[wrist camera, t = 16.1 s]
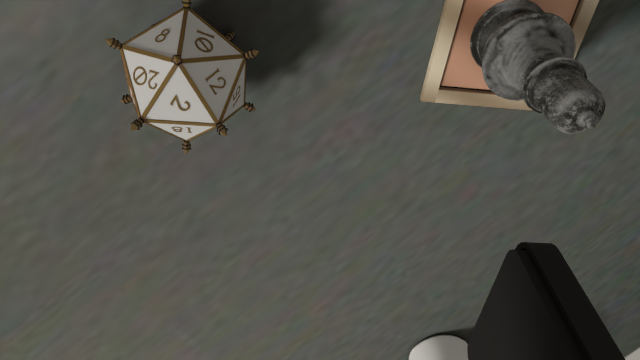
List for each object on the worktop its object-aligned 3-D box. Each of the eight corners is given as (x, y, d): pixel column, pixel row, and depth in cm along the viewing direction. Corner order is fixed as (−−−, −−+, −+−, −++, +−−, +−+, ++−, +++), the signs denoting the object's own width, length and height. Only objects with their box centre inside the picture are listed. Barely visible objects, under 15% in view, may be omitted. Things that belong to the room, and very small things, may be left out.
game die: (183, 50, 41) (84, 138, 35) (173, -55, 34) (47, 37, 28) (287, 106, 39) (199, 208, 34) (299, 9, 32) (191, 119, 27)
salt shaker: (473, -7, 36) (552, 74, 26) (562, -8, 36) (671, 72, 26) (458, 77, 39) (523, 177, 29) (539, 76, 40) (629, 173, 30)
